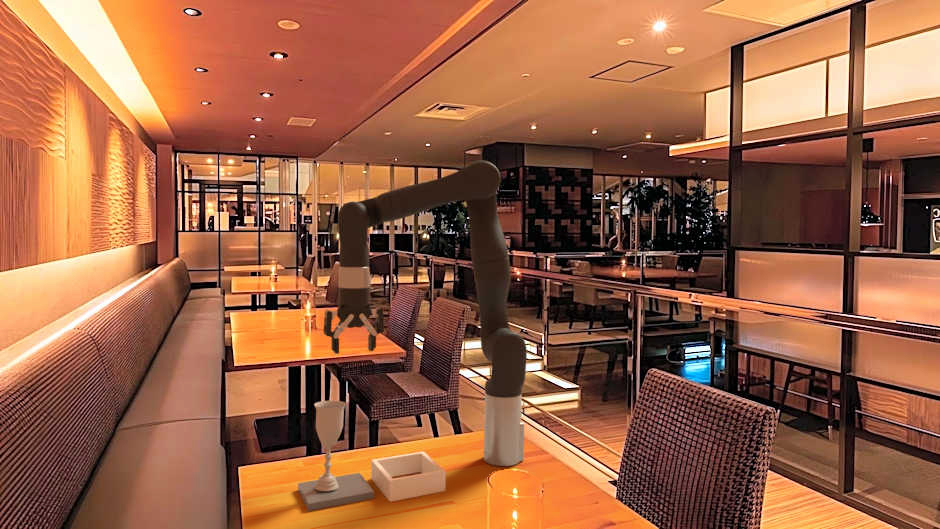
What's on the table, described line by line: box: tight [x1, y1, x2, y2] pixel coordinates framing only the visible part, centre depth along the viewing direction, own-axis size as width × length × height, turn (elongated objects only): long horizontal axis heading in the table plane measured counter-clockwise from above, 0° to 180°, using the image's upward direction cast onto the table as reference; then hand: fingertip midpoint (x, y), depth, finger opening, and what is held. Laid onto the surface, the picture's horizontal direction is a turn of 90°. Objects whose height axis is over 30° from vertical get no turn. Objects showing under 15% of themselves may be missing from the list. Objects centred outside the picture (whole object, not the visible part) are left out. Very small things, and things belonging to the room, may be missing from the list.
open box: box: [370, 450, 447, 502], centre depth 138 cm, size 13×13×4 cm
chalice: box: [313, 400, 347, 491], centre depth 133 cm, size 7×7×18 cm
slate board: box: [297, 472, 375, 512], centre depth 133 cm, size 14×11×2 cm
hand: (354, 351), depth 147 cm, fingers open, 8 cm apart
